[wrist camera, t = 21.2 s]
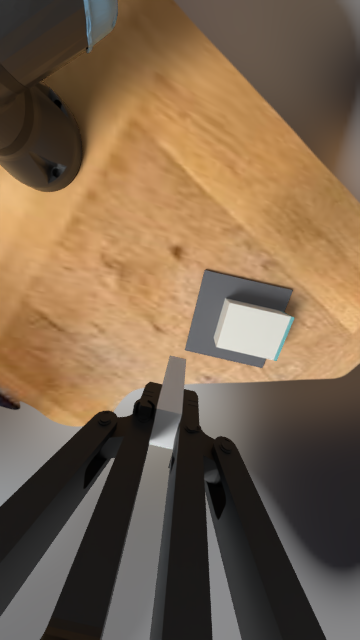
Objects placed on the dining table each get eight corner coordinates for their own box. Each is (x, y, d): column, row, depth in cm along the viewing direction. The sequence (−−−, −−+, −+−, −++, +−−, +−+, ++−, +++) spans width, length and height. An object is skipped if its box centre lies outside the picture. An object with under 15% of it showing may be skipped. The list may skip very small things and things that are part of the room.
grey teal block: (229, 302, 34) (294, 317, 34) (225, 298, 39) (281, 311, 39) (216, 347, 36) (276, 360, 36) (213, 337, 41) (266, 349, 41)
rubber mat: (204, 270, 38) (204, 270, 37) (291, 289, 38) (292, 290, 37) (185, 349, 43) (185, 350, 43) (261, 366, 43) (262, 368, 42)
